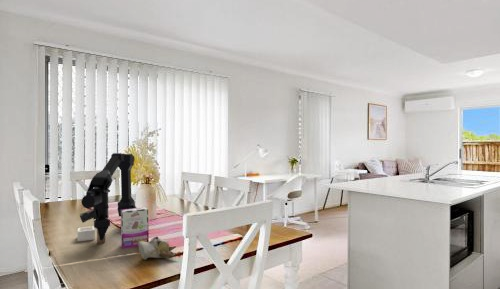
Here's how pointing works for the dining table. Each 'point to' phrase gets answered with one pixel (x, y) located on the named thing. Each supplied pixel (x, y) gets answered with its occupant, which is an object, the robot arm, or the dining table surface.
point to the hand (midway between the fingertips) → (101, 238)
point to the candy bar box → (134, 227)
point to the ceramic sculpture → (156, 249)
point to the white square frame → (86, 233)
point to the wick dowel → (99, 239)
